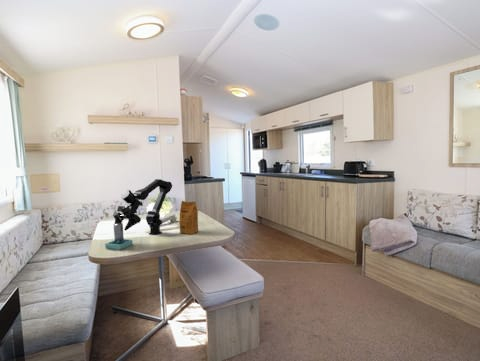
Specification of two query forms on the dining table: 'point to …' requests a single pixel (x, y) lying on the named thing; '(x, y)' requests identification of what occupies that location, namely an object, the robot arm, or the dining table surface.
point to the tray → (118, 247)
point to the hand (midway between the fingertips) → (119, 229)
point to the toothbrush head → (171, 218)
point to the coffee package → (188, 218)
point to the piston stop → (118, 233)
